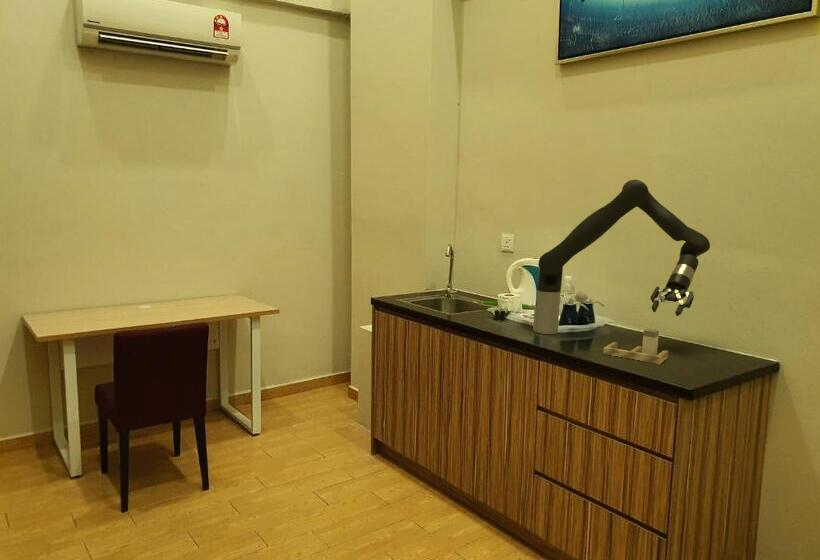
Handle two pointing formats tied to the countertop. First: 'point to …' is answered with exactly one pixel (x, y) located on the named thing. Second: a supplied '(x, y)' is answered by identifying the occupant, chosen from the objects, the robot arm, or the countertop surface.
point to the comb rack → (635, 354)
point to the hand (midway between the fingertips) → (665, 312)
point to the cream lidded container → (650, 341)
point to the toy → (581, 298)
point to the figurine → (502, 311)
